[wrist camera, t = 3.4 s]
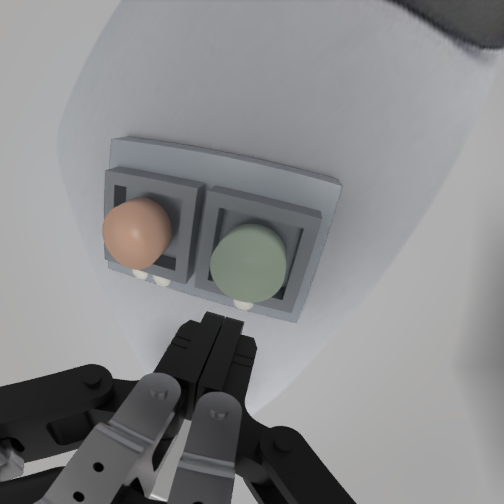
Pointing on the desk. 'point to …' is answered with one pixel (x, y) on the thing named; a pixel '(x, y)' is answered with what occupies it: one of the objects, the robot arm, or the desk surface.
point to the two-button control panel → (222, 214)
